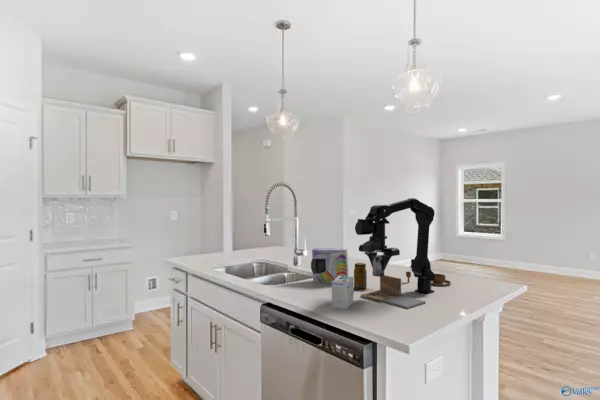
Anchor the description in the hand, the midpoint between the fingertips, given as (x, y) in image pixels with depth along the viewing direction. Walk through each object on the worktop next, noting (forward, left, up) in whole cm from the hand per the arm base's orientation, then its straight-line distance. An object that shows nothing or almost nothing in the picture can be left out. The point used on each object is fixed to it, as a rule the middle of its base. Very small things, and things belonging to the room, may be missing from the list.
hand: (378, 269), depth 160 cm
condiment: (-5, -15, -13) cm, 20 cm away
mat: (-2, +12, -12) cm, 17 cm away
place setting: (-42, -2, -13) cm, 44 cm away
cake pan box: (-2, -34, -12) cm, 36 cm away
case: (-2, 0, -12) cm, 12 cm away
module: (0, 0, -3) cm, 3 cm away
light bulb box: (+20, -2, -12) cm, 24 cm away
